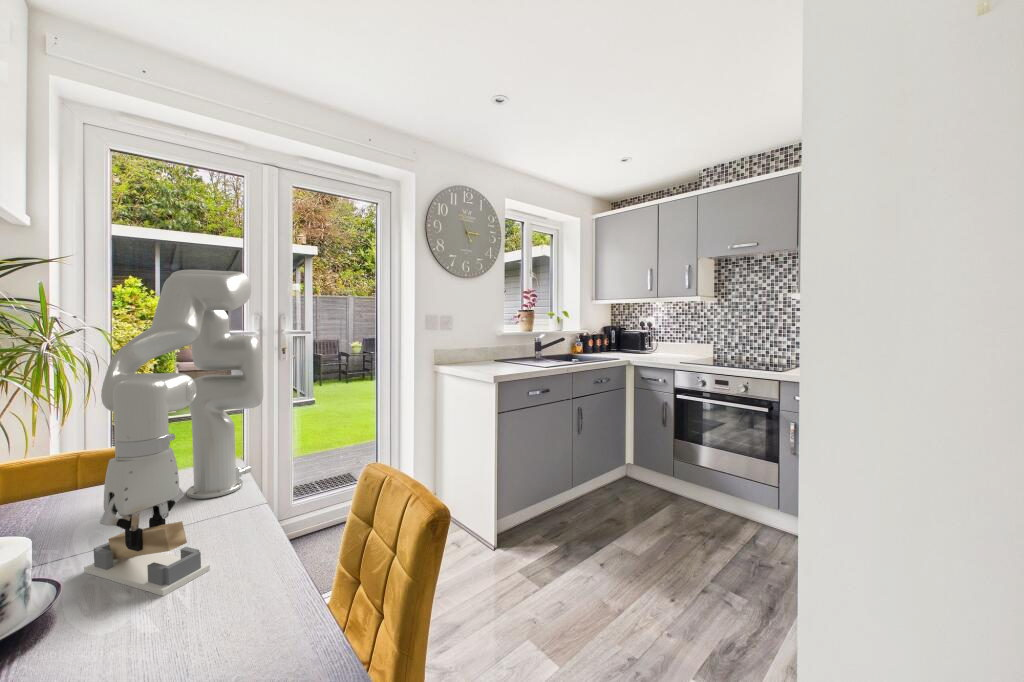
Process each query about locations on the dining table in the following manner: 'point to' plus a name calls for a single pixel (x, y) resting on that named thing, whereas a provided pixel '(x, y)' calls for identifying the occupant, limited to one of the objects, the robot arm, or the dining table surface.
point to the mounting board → (148, 569)
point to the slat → (151, 540)
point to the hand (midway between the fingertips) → (146, 543)
